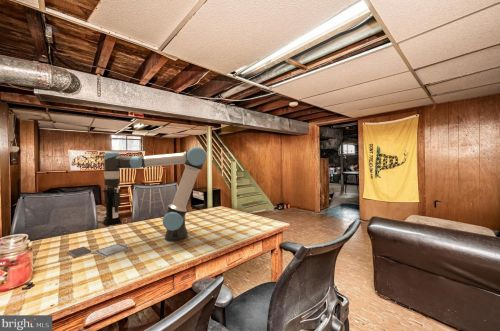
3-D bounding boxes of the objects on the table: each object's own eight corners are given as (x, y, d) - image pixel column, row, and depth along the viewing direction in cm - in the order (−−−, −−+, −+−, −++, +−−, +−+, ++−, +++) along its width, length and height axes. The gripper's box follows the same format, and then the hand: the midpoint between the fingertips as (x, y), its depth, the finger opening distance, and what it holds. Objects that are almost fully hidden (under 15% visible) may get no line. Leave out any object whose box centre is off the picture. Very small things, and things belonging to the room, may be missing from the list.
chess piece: (102, 223, 122) (102, 190, 121) (117, 220, 127) (117, 188, 127) (105, 226, 116) (105, 191, 116) (121, 223, 122) (121, 190, 122)
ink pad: (84, 248, 124) (84, 246, 124) (91, 252, 119) (91, 249, 119) (67, 253, 117) (67, 250, 117) (74, 257, 112) (74, 255, 112)
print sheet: (119, 243, 132) (119, 242, 132) (130, 248, 124) (130, 247, 124) (93, 251, 120) (93, 250, 120) (104, 257, 112) (104, 256, 112)
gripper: (97, 178, 124) (97, 215, 124) (113, 179, 113) (113, 220, 113) (110, 177, 130) (110, 213, 130) (127, 178, 119) (127, 217, 120)
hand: (112, 216), depth 122 cm, fingers closed on chess piece, 7 cm apart
